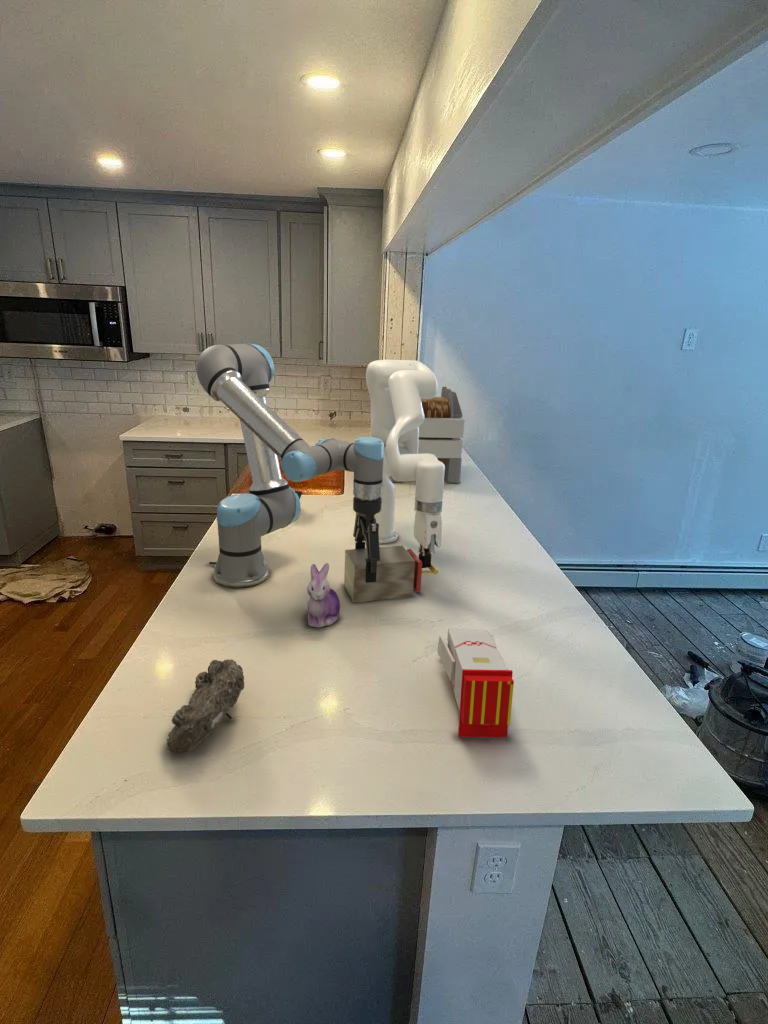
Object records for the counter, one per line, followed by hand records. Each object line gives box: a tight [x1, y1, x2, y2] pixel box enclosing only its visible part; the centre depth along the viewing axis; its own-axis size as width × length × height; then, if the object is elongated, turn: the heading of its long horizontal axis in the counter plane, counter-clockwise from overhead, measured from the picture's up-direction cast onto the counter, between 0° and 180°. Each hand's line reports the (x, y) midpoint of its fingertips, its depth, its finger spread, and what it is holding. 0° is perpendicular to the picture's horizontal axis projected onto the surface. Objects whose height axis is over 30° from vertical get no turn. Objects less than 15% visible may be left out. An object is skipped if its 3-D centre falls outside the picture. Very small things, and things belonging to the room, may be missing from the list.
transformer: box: [383, 386, 465, 484], centre depth 268 cm, size 34×33×41 cm
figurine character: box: [294, 490, 303, 511], centre depth 212 cm, size 7×8×15 cm
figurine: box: [306, 562, 341, 628], centre depth 141 cm, size 9×10×15 cm
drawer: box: [406, 548, 440, 593], centre depth 159 cm, size 21×10×9 cm, turn 107°
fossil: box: [166, 658, 245, 754], centre depth 106 cm, size 22×10×15 cm
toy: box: [437, 628, 515, 738], centre depth 117 cm, size 12×13×30 cm
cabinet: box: [343, 544, 415, 604], centre depth 157 cm, size 17×11×11 cm, turn 107°
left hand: (365, 572), depth 156 cm, fingers closed on cabinet, 11 cm apart
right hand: (424, 566), depth 160 cm, fingers closed
